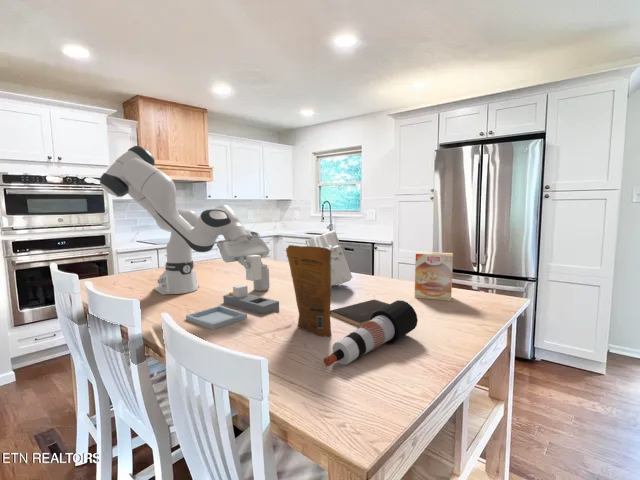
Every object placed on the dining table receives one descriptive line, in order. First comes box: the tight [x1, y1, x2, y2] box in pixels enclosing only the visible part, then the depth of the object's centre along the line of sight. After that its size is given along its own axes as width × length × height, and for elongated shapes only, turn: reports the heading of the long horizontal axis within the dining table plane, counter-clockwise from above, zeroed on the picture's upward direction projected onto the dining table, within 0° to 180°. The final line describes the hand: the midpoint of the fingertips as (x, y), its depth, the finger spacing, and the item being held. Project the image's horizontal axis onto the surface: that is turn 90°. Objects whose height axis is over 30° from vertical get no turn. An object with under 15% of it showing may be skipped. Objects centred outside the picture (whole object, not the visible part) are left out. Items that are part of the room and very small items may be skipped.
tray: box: [185, 305, 248, 331], centre depth 120 cm, size 16×14×2 cm
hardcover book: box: [330, 299, 390, 327], centre depth 127 cm, size 16×23×2 cm
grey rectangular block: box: [245, 255, 262, 282], centre depth 128 cm, size 4×4×9 cm
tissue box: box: [305, 229, 353, 287], centre depth 168 cm, size 21×17×26 cm
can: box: [252, 264, 270, 292], centre depth 162 cm, size 8×8×12 cm
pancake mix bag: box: [285, 244, 333, 337], centre depth 109 cm, size 7×19×28 cm, turn 43°
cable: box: [322, 299, 419, 367], centre depth 95 cm, size 10×34×10 cm, turn 133°
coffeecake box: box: [414, 251, 454, 302], centre depth 146 cm, size 15×7×20 cm, turn 68°
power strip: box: [222, 284, 280, 316], centre depth 134 cm, size 24×8×8 cm, turn 52°
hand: (254, 266), depth 127 cm, fingers closed on grey rectangular block, 4 cm apart
